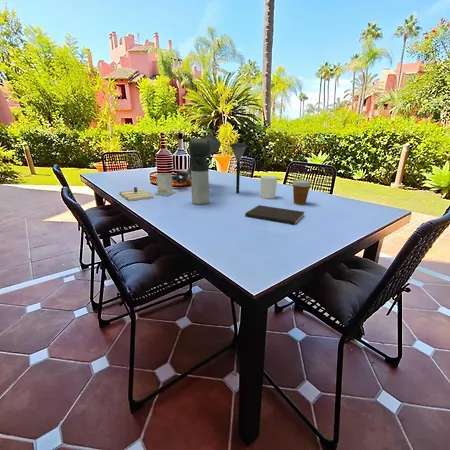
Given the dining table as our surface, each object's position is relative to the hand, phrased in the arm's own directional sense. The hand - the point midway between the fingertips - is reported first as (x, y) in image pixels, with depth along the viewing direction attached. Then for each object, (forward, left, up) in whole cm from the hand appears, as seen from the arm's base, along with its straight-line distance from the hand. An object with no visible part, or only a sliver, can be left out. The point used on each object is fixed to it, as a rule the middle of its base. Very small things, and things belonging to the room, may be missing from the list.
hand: (171, 180), depth 171 cm
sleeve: (-5, +6, -7) cm, 11 cm away
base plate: (-2, +23, -7) cm, 25 cm away
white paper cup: (-45, -42, -7) cm, 62 cm away
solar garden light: (-27, -33, -7) cm, 43 cm away
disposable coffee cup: (-65, -47, -7) cm, 80 cm away
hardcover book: (-75, -19, -8) cm, 77 cm away
